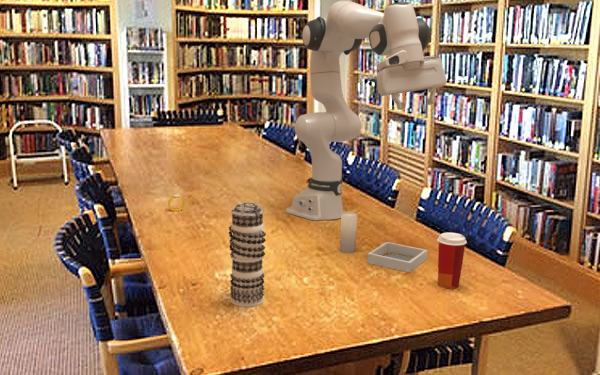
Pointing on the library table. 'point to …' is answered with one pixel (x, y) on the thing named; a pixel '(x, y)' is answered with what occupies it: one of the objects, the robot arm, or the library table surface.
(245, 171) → the library table surface
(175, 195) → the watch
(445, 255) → the paper cup
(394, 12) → the robot arm
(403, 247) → the corral
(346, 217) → the white pillar candle
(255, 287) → the decorative candle
